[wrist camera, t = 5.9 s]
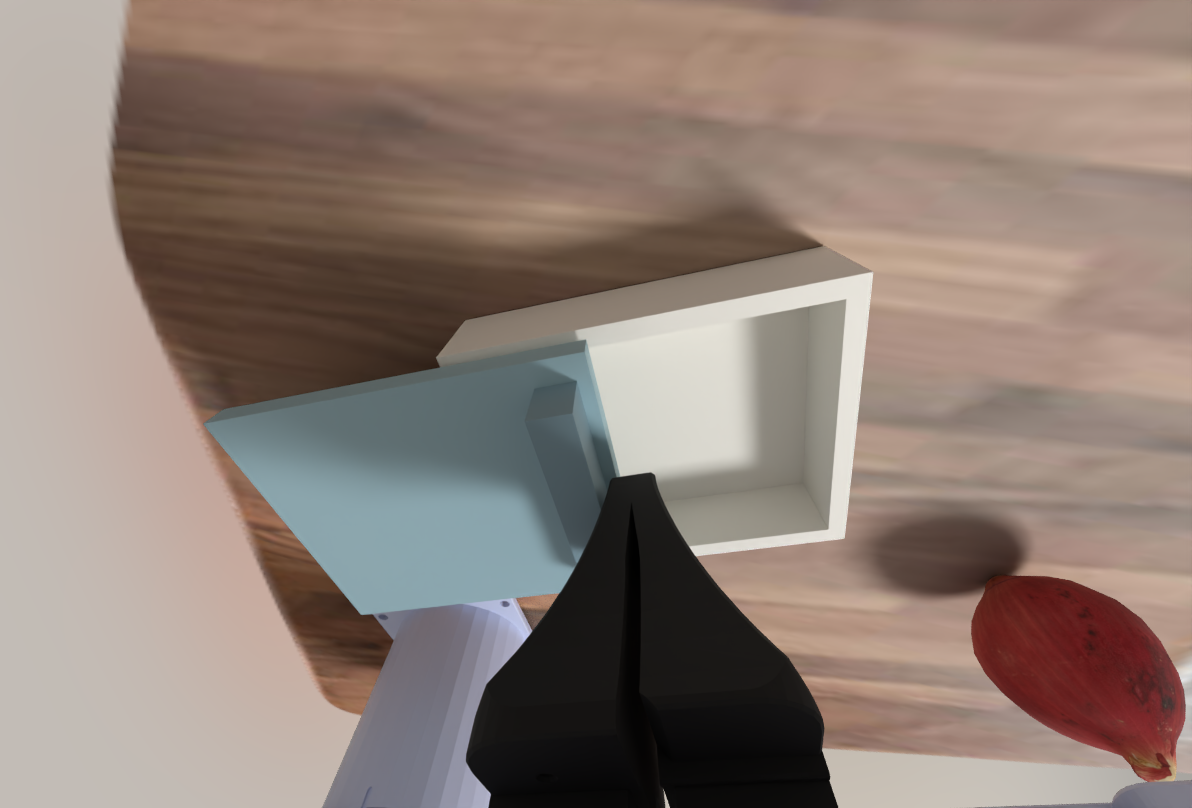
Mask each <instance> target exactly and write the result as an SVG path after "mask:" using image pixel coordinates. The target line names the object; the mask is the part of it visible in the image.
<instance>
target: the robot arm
mask: <svg viewBox="0 0 1192 808" xmlns="http://www.w3.org/2000/svg"><path fill="white" fill-rule="evenodd" d="M373 615H374V617H375V618H376V619H377V620H378V622H379V623H380V624H381V625H382V627H383V628H384V629H385V630H386V632H387V633H388V634H389V635H390V637H391V638H392V639H393V640H394V641H393V644H392V646H391V648H390V651H389V653H388V655H387V658H386V660H385V662H384V665H383V667H382V669H381V672H380V674H379V676H378V679H377V681H376V683H375V686H374V688H373V690H372V693H371V695H370V697H369V700H368V702H367V704H366V707H365V709H364V711H363V714H362V716H361V718H360V721H359V723H358V725H357V728H356V730H355V732H354V735H353V737H352V739H351V742H350V744H349V746H348V749H347V751H346V753H345V756H344V758H343V760H342V763H341V765H340V767H339V770H338V772H337V774H336V777H335V779H334V781H333V784H332V786H331V788H330V791H329V793H328V795H327V798H326V800H325V802H324V805H323V807H322V808H665V800H664V791H665V794H666V797H667V800H668V803H669V806H670V808H838V805H837V802H836V799H835V797H834V793H833V791H832V787H831V784H830V781H829V780H830V774H829V770H828V767H827V764H826V761H825V758H824V755H823V752H822V745H823V736H824V723H823V718H822V716H821V713H820V711H819V709H818V707H817V705H816V702H815V701H814V699H813V697H812V695H811V693H810V691H809V689H808V688H807V686H806V684H805V683H804V681H803V680H802V678H801V676H800V675H799V673H798V672H797V670H796V669H795V667H794V666H793V664H792V663H791V661H790V660H789V658H788V657H787V656H786V655H785V654H784V653H783V652H782V651H780V650H779V649H778V648H777V647H776V646H775V645H774V644H773V643H772V642H771V641H770V640H769V639H768V638H767V637H766V636H764V635H763V634H762V633H761V632H760V631H759V630H758V629H757V628H756V627H755V626H754V625H753V624H752V623H751V622H750V621H749V620H748V618H747V617H746V616H745V615H744V614H743V613H742V612H741V611H740V610H739V609H738V608H737V607H736V606H735V604H734V603H733V602H732V601H731V600H730V599H729V598H728V597H727V595H726V594H725V593H724V592H723V591H722V590H721V589H720V587H719V586H718V585H717V584H716V583H715V581H714V580H713V579H712V578H711V576H710V575H709V574H708V572H707V571H706V570H705V568H704V567H703V566H702V564H701V563H700V562H699V560H698V559H697V558H696V556H695V555H694V553H693V552H692V550H691V549H690V547H689V546H688V544H687V543H686V541H685V540H684V538H683V537H682V535H681V533H680V532H679V530H678V528H677V527H676V525H675V523H674V521H673V519H672V517H671V516H670V514H669V512H668V510H667V508H666V506H665V504H664V501H663V499H662V497H661V494H660V492H659V489H658V486H657V482H656V477H655V475H654V474H653V473H651V472H649V473H642V474H635V475H628V476H622V477H615V478H612V479H611V480H610V483H609V487H608V491H607V494H606V497H605V500H604V503H603V506H602V509H601V512H600V514H599V517H598V519H597V522H596V524H595V527H594V529H593V532H592V534H591V536H590V538H589V540H588V543H587V545H586V547H585V549H584V551H583V553H582V555H581V557H580V559H579V561H578V563H577V565H576V566H575V568H574V570H573V572H572V574H571V575H570V577H569V579H568V580H567V582H566V584H565V585H564V587H563V589H562V590H561V592H560V593H559V595H558V596H557V598H556V599H555V601H554V602H553V604H552V605H551V607H550V608H549V610H548V611H547V613H546V614H545V615H544V617H543V618H542V620H541V621H540V622H539V623H538V625H537V626H536V627H535V628H534V630H533V631H532V630H531V628H530V626H529V624H528V622H527V620H526V618H525V616H524V614H523V612H522V610H521V608H520V606H519V604H518V602H517V600H516V598H510V599H501V600H492V601H483V602H474V603H465V604H456V605H447V606H438V607H429V608H420V609H411V610H402V611H393V612H384V613H375V614H373ZM663 789H664V791H663ZM977 808H1192V780H1187V781H1162V782H1145V783H1138V784H1134V785H1130V786H1127V787H1125V788H1123V789H1121V790H1120V791H1118V792H1117V793H1116V795H1115V796H1114V798H1113V801H1112V803H1089V804H1064V805H1063V804H1062V805H1034V806H1006V807H977Z"/></svg>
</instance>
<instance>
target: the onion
mask: <svg viewBox="0 0 1192 808" xmlns="http://www.w3.org/2000/svg"><path fill="white" fill-rule="evenodd" d="M971 635H972V642H973V648H974V654H975V656H976V657H977V659H978V661H979V663H980V665H981V666H982V668H983V670H984V672H985V674H986V675H987V676H988V677H989V678H990V679H991V680H992V682H993V683H994V684H995V685H996V686H997V687H998V688H999V689H1000V691H1001V692H1002V693H1003V694H1005V695H1006V696H1007V697H1008V698H1009V699H1010V700H1011V701H1013V702H1014V703H1015V704H1016V705H1017V706H1019V707H1020V708H1021V709H1022V710H1024V711H1025V712H1026V713H1027V714H1029V715H1030V716H1031V717H1033V718H1034V719H1036V720H1037V721H1039V722H1041V723H1042V724H1044V725H1045V726H1047V727H1049V728H1051V729H1053V730H1055V731H1056V732H1058V733H1060V734H1062V735H1065V736H1067V737H1069V738H1071V739H1074V740H1076V741H1078V742H1081V743H1084V744H1087V745H1090V746H1093V747H1096V748H1099V749H1103V750H1106V751H1109V752H1112V753H1115V754H1118V755H1121V756H1123V757H1124V759H1125V760H1126V761H1127V762H1128V763H1129V764H1130V765H1131V767H1132V769H1133V770H1134V772H1135V773H1136V774H1137V775H1138V777H1140V778H1142V779H1144V780H1146V781H1147V782H1162V781H1174V779H1175V777H1176V752H1175V751H1176V744H1177V740H1178V738H1179V736H1180V733H1181V731H1182V728H1183V725H1184V722H1185V707H1186V705H1185V696H1184V689H1183V686H1182V683H1181V680H1180V677H1179V674H1178V672H1177V670H1176V668H1175V667H1174V665H1173V663H1172V661H1171V659H1170V658H1169V656H1168V654H1167V652H1166V650H1165V649H1164V647H1163V645H1162V643H1161V641H1160V640H1159V639H1158V638H1157V636H1156V635H1155V634H1154V633H1153V632H1152V631H1151V629H1150V628H1149V627H1148V626H1147V625H1146V623H1145V622H1144V621H1143V620H1142V619H1141V618H1140V617H1138V616H1137V615H1136V614H1134V613H1133V612H1132V611H1130V610H1129V609H1128V608H1126V607H1125V606H1124V605H1122V604H1121V603H1120V602H1118V601H1117V600H1115V599H1113V598H1111V597H1108V596H1106V595H1104V594H1102V593H1099V592H1097V591H1095V590H1092V589H1090V588H1088V587H1085V586H1083V585H1080V584H1078V583H1075V582H1073V581H1070V580H1065V579H1059V578H1053V577H1047V576H1008V575H999V576H995V577H992V578H991V579H990V580H989V581H988V582H987V583H986V586H985V592H984V594H983V597H982V599H981V600H980V602H979V604H978V606H977V607H976V610H975V613H974V616H973V619H972V626H971Z"/></svg>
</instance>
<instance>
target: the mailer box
mask: <svg viewBox="0 0 1192 808" xmlns="http://www.w3.org/2000/svg"><path fill="white" fill-rule="evenodd" d="M872 279H873V271H871V270H869V269H867V268H865V267H863V266H861V265H860V264H858V263H856V262H854V261H852V260H850V259H848V258H846V257H845V256H843V255H841V254H839V253H837V252H835V251H833V250H832V249H830V248H828V247H826V246H821V247H817V248H812V249H807V250H802V251H797V252H792V253H788V254H783V255H778V256H773V257H768V258H763V259H759V260H754V261H749V262H744V263H739V264H735V265H730V266H725V267H720V268H715V269H710V270H706V271H701V272H696V273H691V274H686V275H681V276H677V277H672V278H667V279H662V280H657V281H652V282H648V283H643V284H638V285H633V286H628V287H624V288H619V289H614V290H609V291H604V292H599V293H595V294H590V295H585V296H580V297H575V298H570V299H566V300H561V301H556V302H551V303H546V304H542V305H537V306H532V307H527V308H522V309H517V310H513V311H508V312H503V313H498V314H493V315H488V316H484V317H479V318H474V319H469V320H465V321H464V323H463V324H462V325H461V326H460V328H459V329H458V330H457V332H456V333H455V334H454V335H453V337H452V338H451V339H450V340H449V342H448V343H447V344H446V346H445V347H444V348H443V349H442V351H441V352H440V353H439V355H438V356H437V357H436V359H437V361H438V363H439V365H440V367H445V366H451V365H456V364H461V363H466V362H471V361H477V360H482V359H487V358H492V357H497V356H502V355H508V354H513V353H518V352H523V351H528V350H534V349H539V348H544V347H549V346H554V345H559V344H565V343H570V342H575V341H580V340H585V339H586V341H587V345H588V349H589V353H590V357H591V361H592V365H593V369H594V373H595V377H596V381H597V385H598V389H599V393H600V397H601V401H602V405H603V409H604V413H605V417H606V421H607V425H608V429H609V433H610V437H611V441H612V445H613V449H614V453H615V457H616V461H617V465H618V469H619V473H620V477H622V476H628V475H635V474H642V473H649V472H651V473H653V474H654V475H655V477H656V482H657V486H658V489H659V492H660V494H661V497H662V499H663V501H664V504H665V506H666V508H667V510H668V512H669V514H670V516H671V517H672V519H673V521H674V523H675V525H676V527H677V528H678V530H679V532H680V533H681V535H682V537H683V538H684V540H685V541H686V543H687V544H688V546H689V547H690V549H691V550H692V552H693V553H694V555H695V556H701V555H710V554H718V553H727V552H735V551H744V550H752V549H761V548H769V547H778V546H786V545H795V544H803V543H812V542H820V541H828V540H837V539H845V530H846V521H847V511H848V502H849V493H850V483H851V474H852V465H853V456H854V446H855V437H856V428H857V418H858V409H859V400H860V391H861V381H862V372H863V363H864V354H865V344H866V335H867V326H868V316H869V307H870V298H871V289H872Z"/></svg>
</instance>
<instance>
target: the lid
mask: <svg viewBox="0 0 1192 808" xmlns="http://www.w3.org/2000/svg"><path fill="white" fill-rule="evenodd" d="M204 426H205V427H206V428H207V429H208V430H209V432H210V433H211V434H212V435H213V436H214V438H215V439H216V440H217V441H218V442H219V444H220V445H221V446H222V447H223V449H224V450H225V451H226V452H227V453H228V455H229V456H230V457H231V458H232V459H233V461H234V462H235V463H236V464H237V465H238V467H239V468H240V469H241V470H242V471H243V473H244V474H245V475H246V476H247V478H248V479H249V480H250V481H251V482H252V484H253V485H254V486H255V487H256V488H257V490H258V491H259V492H260V493H261V494H262V496H263V497H264V498H265V499H266V500H267V502H268V503H269V504H270V505H271V507H272V508H273V509H274V510H275V511H276V513H277V514H278V515H279V516H280V517H281V519H282V520H283V521H284V522H285V523H286V525H287V526H288V527H289V528H290V529H291V531H292V532H293V533H294V534H295V535H296V537H297V538H298V539H299V540H300V542H301V543H302V544H303V545H304V546H305V548H306V549H307V550H308V551H309V552H310V554H311V555H312V556H313V557H314V558H315V560H316V561H317V562H318V563H319V564H320V566H321V567H322V568H323V569H324V571H325V572H326V573H327V574H328V575H329V577H330V578H331V579H332V580H333V581H334V583H335V584H336V585H337V586H338V587H339V589H340V590H341V591H342V592H343V593H344V595H345V596H346V597H347V598H348V600H349V601H350V602H351V603H352V604H353V606H354V607H355V608H356V609H357V610H358V612H359V613H360V614H361V615H366V614H375V613H384V612H393V611H402V610H411V609H420V608H429V607H438V606H447V605H456V604H465V603H474V602H483V601H492V600H501V599H510V598H519V597H528V596H537V595H546V594H555V593H560V592H561V590H562V589H563V587H564V585H565V584H566V582H567V580H568V579H569V577H570V575H571V574H572V572H573V570H574V568H575V566H576V565H577V563H578V561H579V559H580V557H581V555H582V553H583V551H584V549H585V547H586V545H587V543H588V540H589V538H590V536H591V534H592V532H593V529H594V527H595V524H596V522H597V519H598V517H599V514H600V512H601V509H602V506H603V503H604V500H605V497H606V494H607V491H608V487H609V483H610V480H611V479H612V478H615V477H620V473H619V469H618V465H617V461H616V457H615V453H614V449H613V445H612V441H611V437H610V433H609V429H608V425H607V421H606V417H605V413H604V409H603V405H602V401H601V397H600V393H599V389H598V385H597V381H596V377H595V373H594V369H593V365H592V361H591V357H590V353H589V349H588V345H587V341H586V339H585V340H580V341H575V342H570V343H565V344H559V345H554V346H549V347H544V348H539V349H534V350H528V351H523V352H518V353H513V354H508V355H502V356H497V357H492V358H487V359H482V360H477V361H471V362H466V363H461V364H456V365H451V366H445V367H440V368H435V369H430V370H425V371H419V372H414V373H409V374H404V375H399V376H394V377H388V378H383V379H378V380H373V381H368V382H362V383H357V384H352V385H347V386H342V387H337V388H331V389H326V390H321V391H316V392H311V393H305V394H300V395H295V396H290V397H285V398H279V399H274V400H269V401H264V402H259V403H254V404H248V405H243V406H238V407H233V408H228V409H223V410H222V411H220V412H219V413H218V414H216V415H215V416H213V417H212V418H211V419H209V420H208V421H206V422H205V423H204Z"/></svg>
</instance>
